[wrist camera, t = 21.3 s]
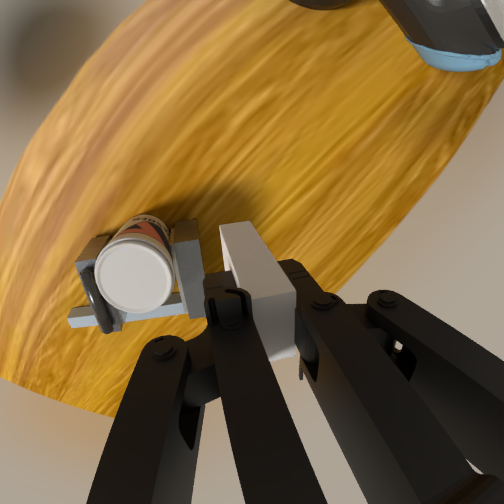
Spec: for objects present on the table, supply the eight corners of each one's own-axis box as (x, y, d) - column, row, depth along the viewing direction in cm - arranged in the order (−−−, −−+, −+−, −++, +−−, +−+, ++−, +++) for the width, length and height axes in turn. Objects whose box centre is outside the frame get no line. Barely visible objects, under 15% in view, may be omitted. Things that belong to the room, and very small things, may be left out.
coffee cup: (187, 224, 41) (188, 261, 30) (161, 277, 43) (157, 326, 32) (128, 198, 37) (107, 226, 26) (106, 254, 39) (84, 297, 29)
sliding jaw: (91, 238, 37) (70, 268, 29) (113, 233, 38) (96, 263, 30) (112, 301, 42) (100, 340, 34) (132, 298, 43) (123, 337, 34)
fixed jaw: (170, 222, 40) (168, 244, 33) (195, 218, 40) (198, 239, 33) (184, 289, 45) (185, 319, 38) (206, 285, 45) (211, 315, 38)
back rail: (71, 308, 41) (66, 318, 39) (207, 288, 45) (208, 298, 43) (76, 317, 42) (71, 328, 40) (209, 298, 46) (210, 309, 44)
